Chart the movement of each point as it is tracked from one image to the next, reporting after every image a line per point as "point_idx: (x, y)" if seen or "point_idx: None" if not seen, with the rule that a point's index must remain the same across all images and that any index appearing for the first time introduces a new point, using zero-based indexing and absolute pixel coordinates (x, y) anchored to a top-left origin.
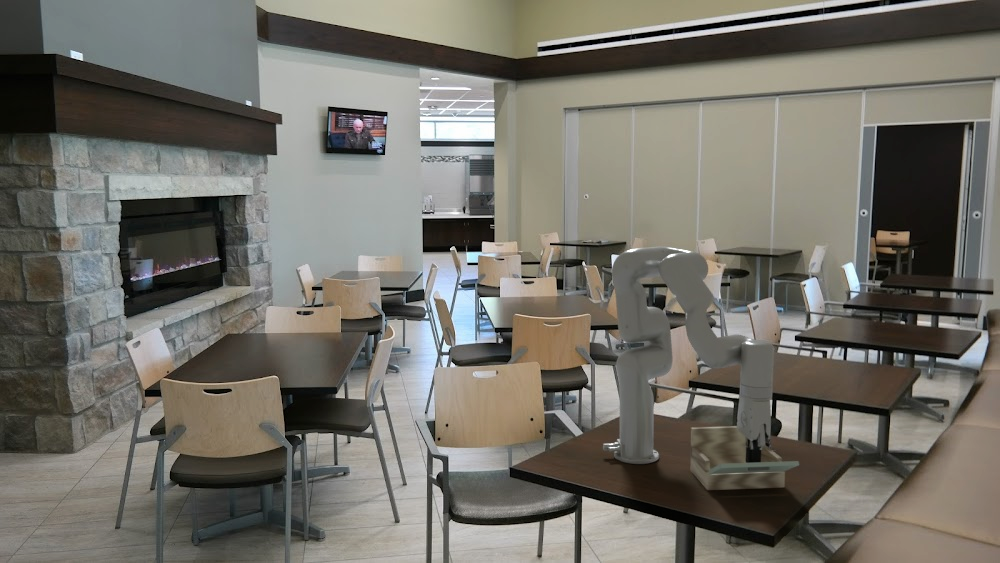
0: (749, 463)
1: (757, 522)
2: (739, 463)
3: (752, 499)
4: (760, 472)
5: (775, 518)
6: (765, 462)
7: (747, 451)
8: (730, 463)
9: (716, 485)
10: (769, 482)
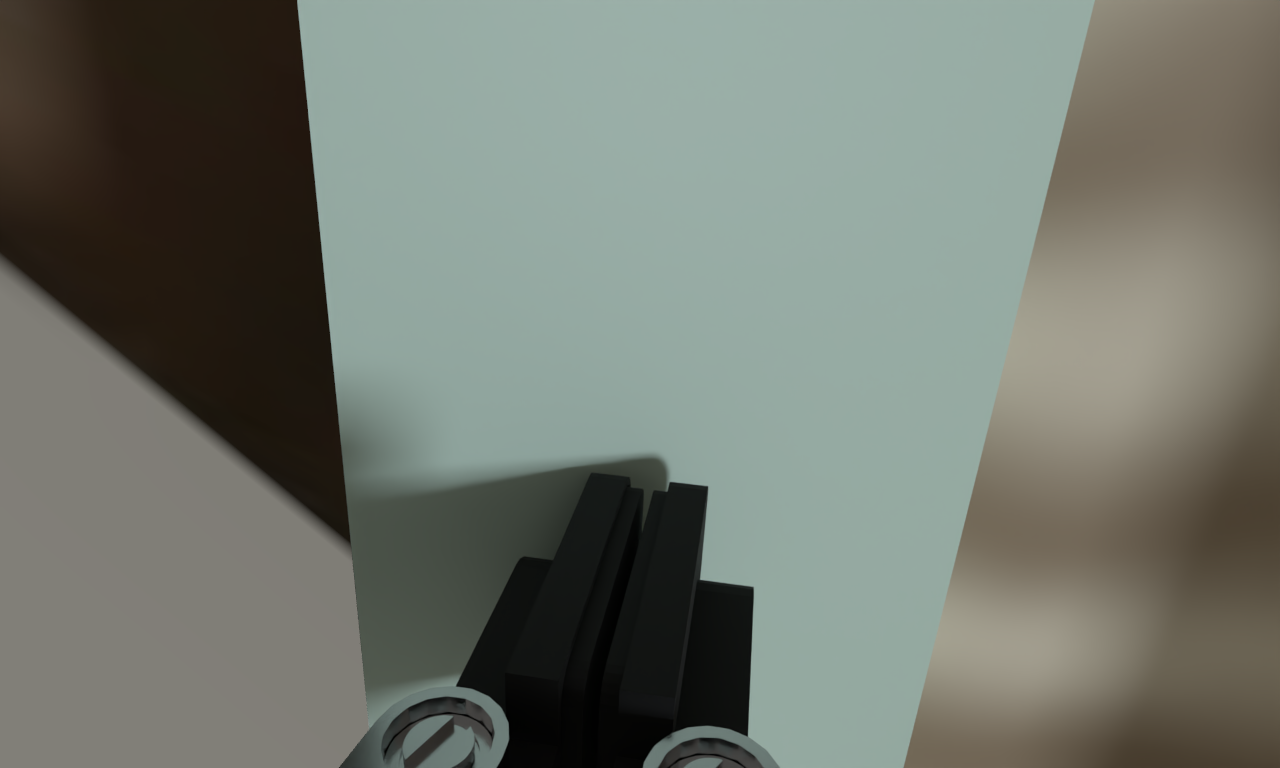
0: (340, 433)
1: (69, 105)
2: (321, 230)
3: None
4: None
5: (173, 314)
6: (369, 695)
7: (616, 629)
8: (298, 2)
9: None
10: None
